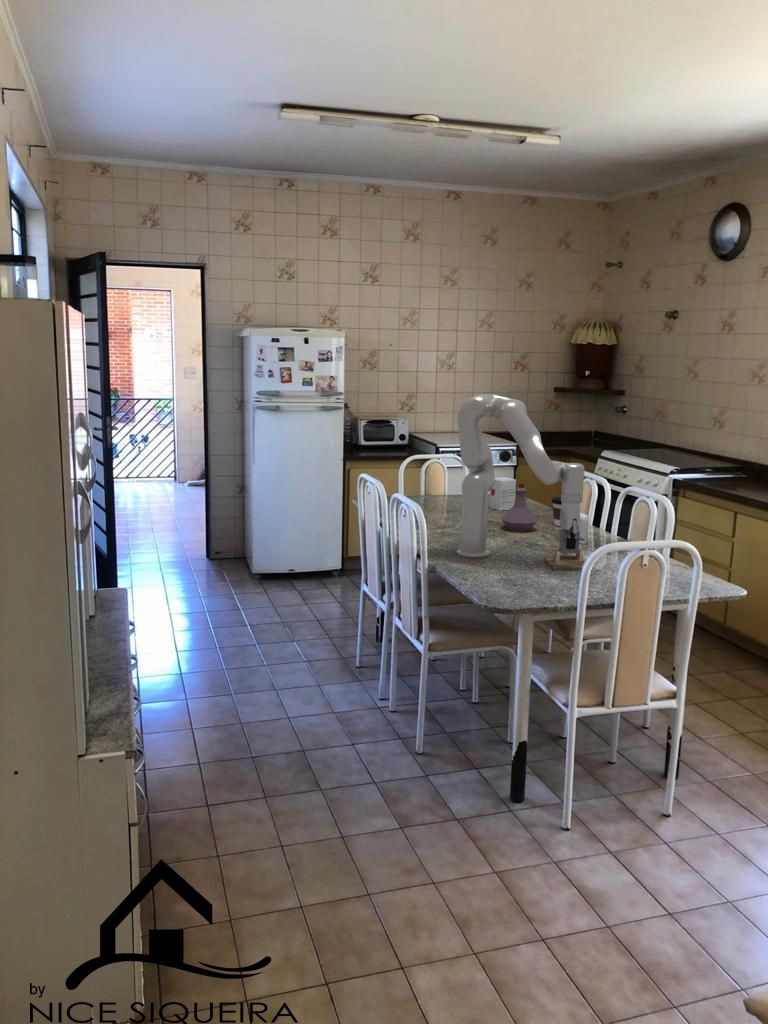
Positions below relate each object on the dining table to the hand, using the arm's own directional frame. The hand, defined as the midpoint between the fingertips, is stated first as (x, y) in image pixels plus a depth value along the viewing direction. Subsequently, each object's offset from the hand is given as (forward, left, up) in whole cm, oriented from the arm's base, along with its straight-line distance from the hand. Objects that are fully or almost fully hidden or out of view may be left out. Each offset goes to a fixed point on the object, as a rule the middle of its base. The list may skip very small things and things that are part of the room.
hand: (568, 546), depth 295 cm
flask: (-57, -5, -7) cm, 58 cm away
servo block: (0, 0, -2) cm, 2 cm away
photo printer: (-35, +13, -7) cm, 38 cm away
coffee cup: (-64, +16, -7) cm, 66 cm away
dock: (0, 0, -7) cm, 7 cm away
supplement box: (-99, -4, -7) cm, 99 cm away
